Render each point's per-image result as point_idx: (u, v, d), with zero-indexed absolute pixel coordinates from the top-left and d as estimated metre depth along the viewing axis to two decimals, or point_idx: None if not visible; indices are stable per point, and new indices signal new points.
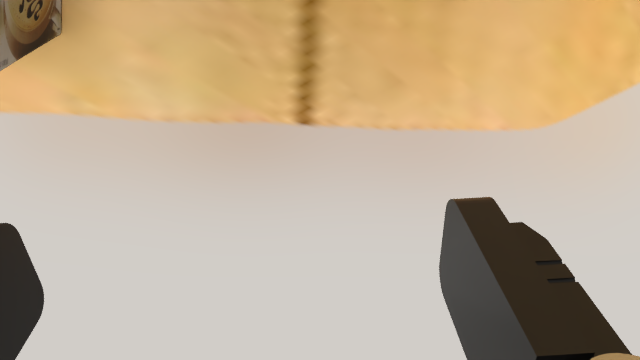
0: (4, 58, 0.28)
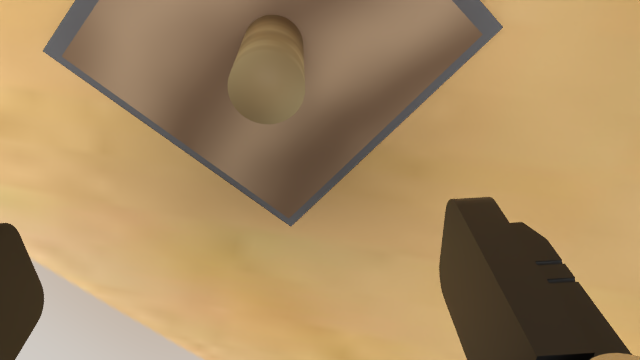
0: None
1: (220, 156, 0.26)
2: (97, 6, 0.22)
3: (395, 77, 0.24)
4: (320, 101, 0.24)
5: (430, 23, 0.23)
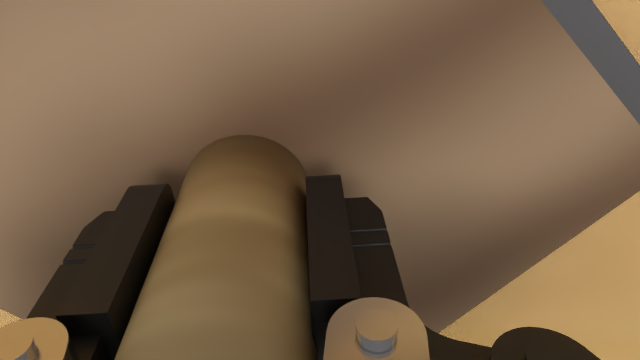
0: None
1: None
2: None
3: (488, 240, 0.12)
4: None
5: (572, 148, 0.11)
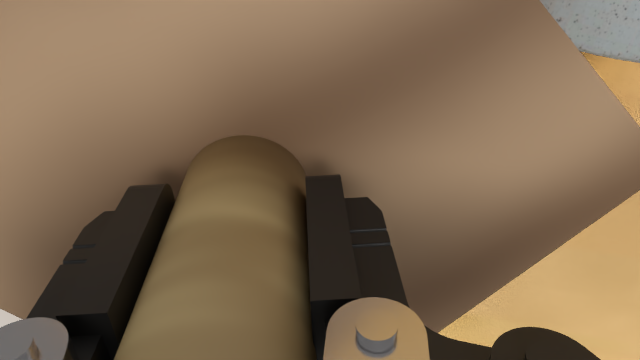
0: None
1: None
2: None
3: (487, 241, 0.12)
4: None
5: (571, 148, 0.11)
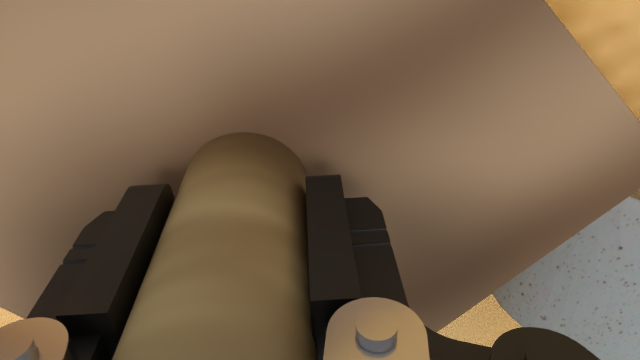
0: None
1: None
2: None
3: (488, 239, 0.12)
4: None
5: (572, 146, 0.11)
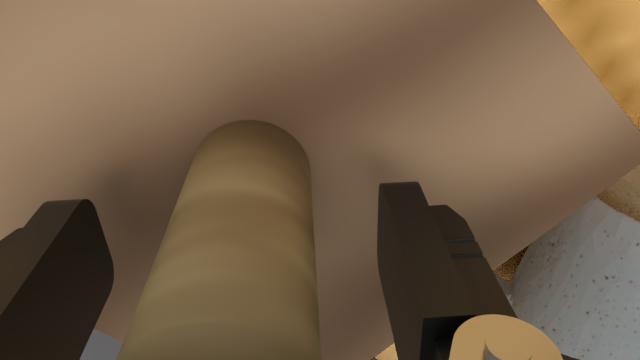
0: None
1: None
2: None
3: (481, 223, 0.13)
4: (340, 262, 0.13)
5: (560, 133, 0.11)
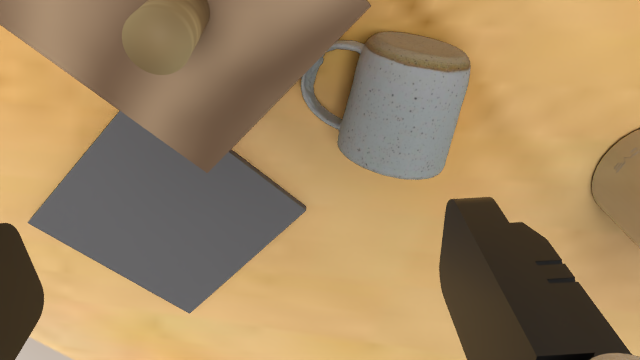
0: None
1: (140, 112, 0.28)
2: None
3: (295, 43, 0.26)
4: (228, 63, 0.27)
5: None
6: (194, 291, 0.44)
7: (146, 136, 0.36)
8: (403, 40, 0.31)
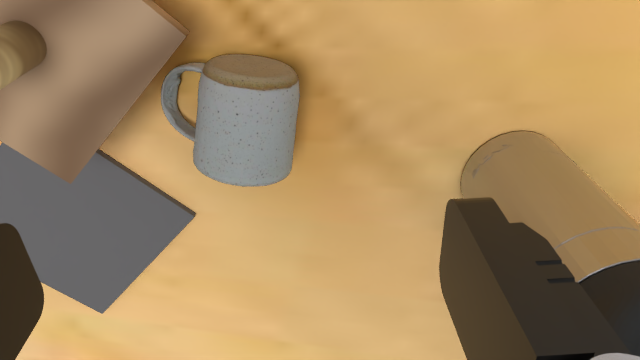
0: None
1: (1, 132, 0.32)
2: None
3: (126, 69, 0.30)
4: (71, 88, 0.31)
5: (142, 27, 0.29)
6: (103, 293, 0.48)
7: None
8: (240, 62, 0.35)
